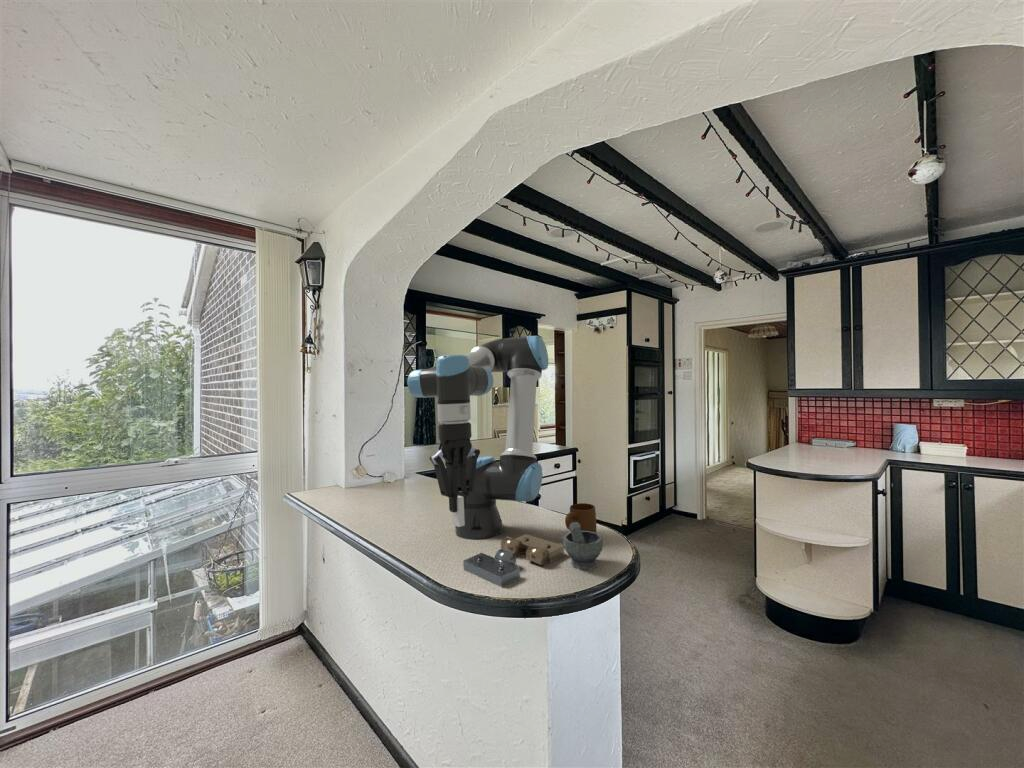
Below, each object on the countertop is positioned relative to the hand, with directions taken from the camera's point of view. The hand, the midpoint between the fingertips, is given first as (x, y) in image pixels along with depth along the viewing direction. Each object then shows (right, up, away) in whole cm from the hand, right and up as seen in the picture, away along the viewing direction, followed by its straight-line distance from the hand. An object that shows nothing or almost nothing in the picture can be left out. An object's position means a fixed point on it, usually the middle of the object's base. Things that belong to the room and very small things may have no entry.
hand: (458, 524), depth 94 cm
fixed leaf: (+18, -14, +17) cm, 28 cm away
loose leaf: (+9, -14, +8) cm, 18 cm away
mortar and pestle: (+30, -13, +9) cm, 34 cm away
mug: (+32, -14, +25) cm, 43 cm away
